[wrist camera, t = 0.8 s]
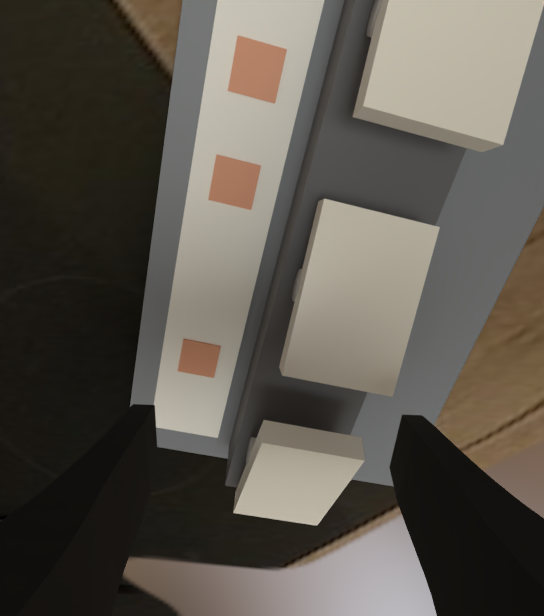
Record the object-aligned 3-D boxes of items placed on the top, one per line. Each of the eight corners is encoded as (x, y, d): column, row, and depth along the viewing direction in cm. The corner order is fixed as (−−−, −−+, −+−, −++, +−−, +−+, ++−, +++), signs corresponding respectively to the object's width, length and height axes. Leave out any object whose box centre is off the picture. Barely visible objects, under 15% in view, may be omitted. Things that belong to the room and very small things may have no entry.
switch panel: (632, -16, 16) (742, -53, 12) (396, 472, 26) (418, 530, 22) (210, -159, 14) (192, -253, 10) (131, 426, 24) (108, 482, 20)
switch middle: (414, 228, 16) (439, 227, 14) (374, 378, 17) (392, 397, 15) (312, 203, 16) (324, 198, 14) (276, 359, 16) (282, 375, 14)
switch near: (521, -46, 13) (573, -99, 11) (463, 158, 13) (503, 145, 11) (395, -89, 12) (425, -153, 10) (343, 126, 13) (362, 105, 11)
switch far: (359, 416, 18) (365, 460, 16) (315, 484, 21) (317, 525, 20) (265, 398, 17) (261, 442, 16) (237, 471, 21) (233, 513, 19)
